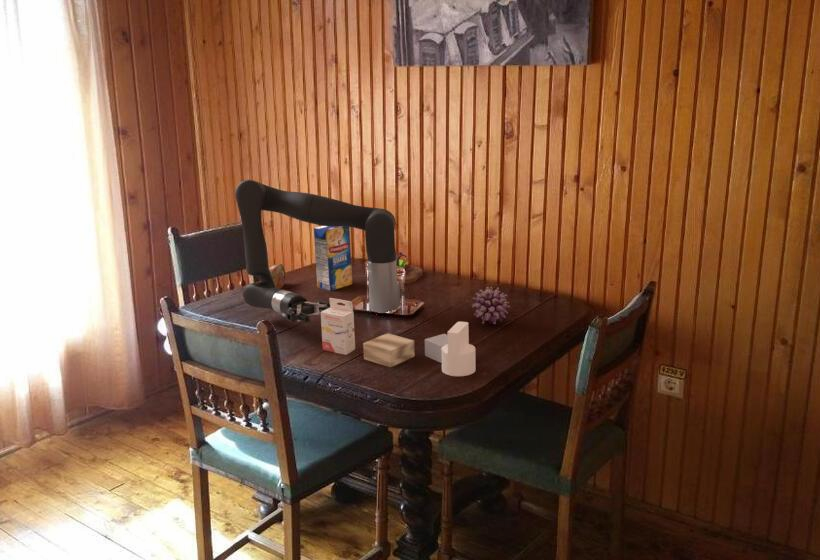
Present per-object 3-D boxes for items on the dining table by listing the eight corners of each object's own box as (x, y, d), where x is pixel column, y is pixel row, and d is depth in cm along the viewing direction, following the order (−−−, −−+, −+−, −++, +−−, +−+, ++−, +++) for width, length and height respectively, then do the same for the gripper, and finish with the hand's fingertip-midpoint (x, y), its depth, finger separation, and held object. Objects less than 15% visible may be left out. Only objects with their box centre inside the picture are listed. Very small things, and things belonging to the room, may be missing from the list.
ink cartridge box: (321, 350, 234) (318, 301, 230) (331, 345, 238) (329, 296, 234) (346, 355, 230) (343, 305, 225) (356, 349, 234) (353, 300, 230)
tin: (272, 295, 287) (270, 272, 284) (263, 295, 287) (261, 272, 285) (286, 283, 301) (285, 261, 298) (278, 283, 301) (276, 261, 299)
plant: (380, 268, 317) (379, 240, 314) (428, 272, 311) (427, 243, 308) (360, 283, 300) (358, 253, 296) (409, 287, 293) (408, 257, 290)
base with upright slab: (469, 378, 212) (469, 334, 208) (437, 373, 215) (436, 331, 212) (479, 365, 220) (479, 323, 216) (448, 361, 223) (447, 320, 220)
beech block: (388, 349, 234) (387, 333, 232) (414, 357, 228) (414, 340, 226) (363, 360, 227) (363, 343, 225) (390, 368, 220) (390, 351, 219)
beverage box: (317, 287, 294) (313, 228, 288) (339, 280, 302) (336, 222, 296) (329, 291, 290) (326, 230, 284) (352, 284, 297) (349, 225, 291)
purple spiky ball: (473, 330, 246) (472, 293, 242) (470, 317, 257) (470, 281, 254) (511, 330, 246) (511, 292, 242) (507, 317, 257) (507, 280, 254)
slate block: (444, 350, 232) (444, 333, 230) (460, 357, 226) (460, 340, 225) (425, 356, 228) (424, 339, 226) (440, 363, 222) (440, 346, 221)
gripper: (268, 297, 243) (300, 309, 231) (307, 287, 252) (340, 298, 240) (270, 321, 245) (302, 334, 233) (309, 310, 254) (341, 322, 242)
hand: (321, 316), depth 237 cm, fingers open, 8 cm apart
